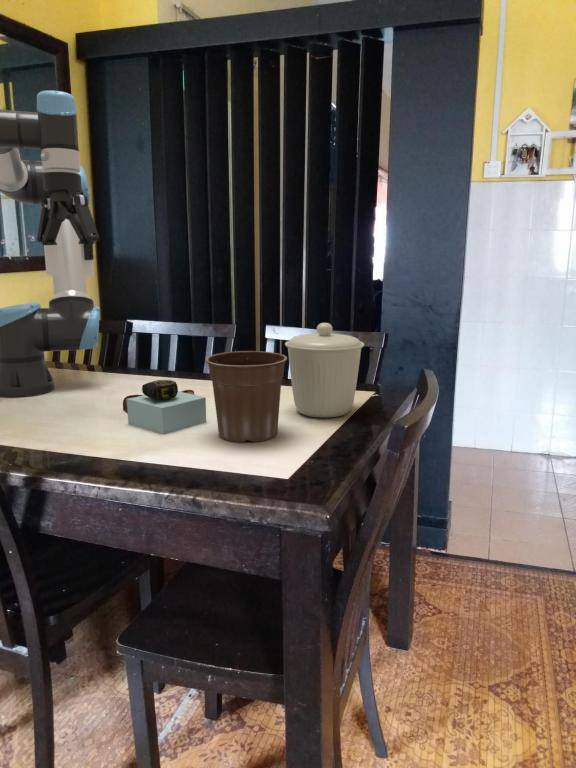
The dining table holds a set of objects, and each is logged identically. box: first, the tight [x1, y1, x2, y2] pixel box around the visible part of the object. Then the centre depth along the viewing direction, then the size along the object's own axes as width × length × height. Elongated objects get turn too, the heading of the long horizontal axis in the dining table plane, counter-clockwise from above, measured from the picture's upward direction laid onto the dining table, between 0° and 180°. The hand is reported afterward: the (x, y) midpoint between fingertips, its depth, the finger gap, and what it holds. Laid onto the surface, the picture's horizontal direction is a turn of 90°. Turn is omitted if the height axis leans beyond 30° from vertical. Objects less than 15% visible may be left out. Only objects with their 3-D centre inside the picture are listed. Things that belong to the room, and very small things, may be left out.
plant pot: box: [205, 350, 288, 443], centre depth 121 cm, size 16×16×16 cm
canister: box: [284, 322, 365, 419], centre depth 137 cm, size 18×18×21 cm
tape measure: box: [141, 379, 179, 401], centre depth 129 cm, size 7×7×4 cm
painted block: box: [127, 390, 207, 435], centre depth 130 cm, size 12×12×6 cm
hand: (69, 275), depth 129 cm, fingers open, 13 cm apart
